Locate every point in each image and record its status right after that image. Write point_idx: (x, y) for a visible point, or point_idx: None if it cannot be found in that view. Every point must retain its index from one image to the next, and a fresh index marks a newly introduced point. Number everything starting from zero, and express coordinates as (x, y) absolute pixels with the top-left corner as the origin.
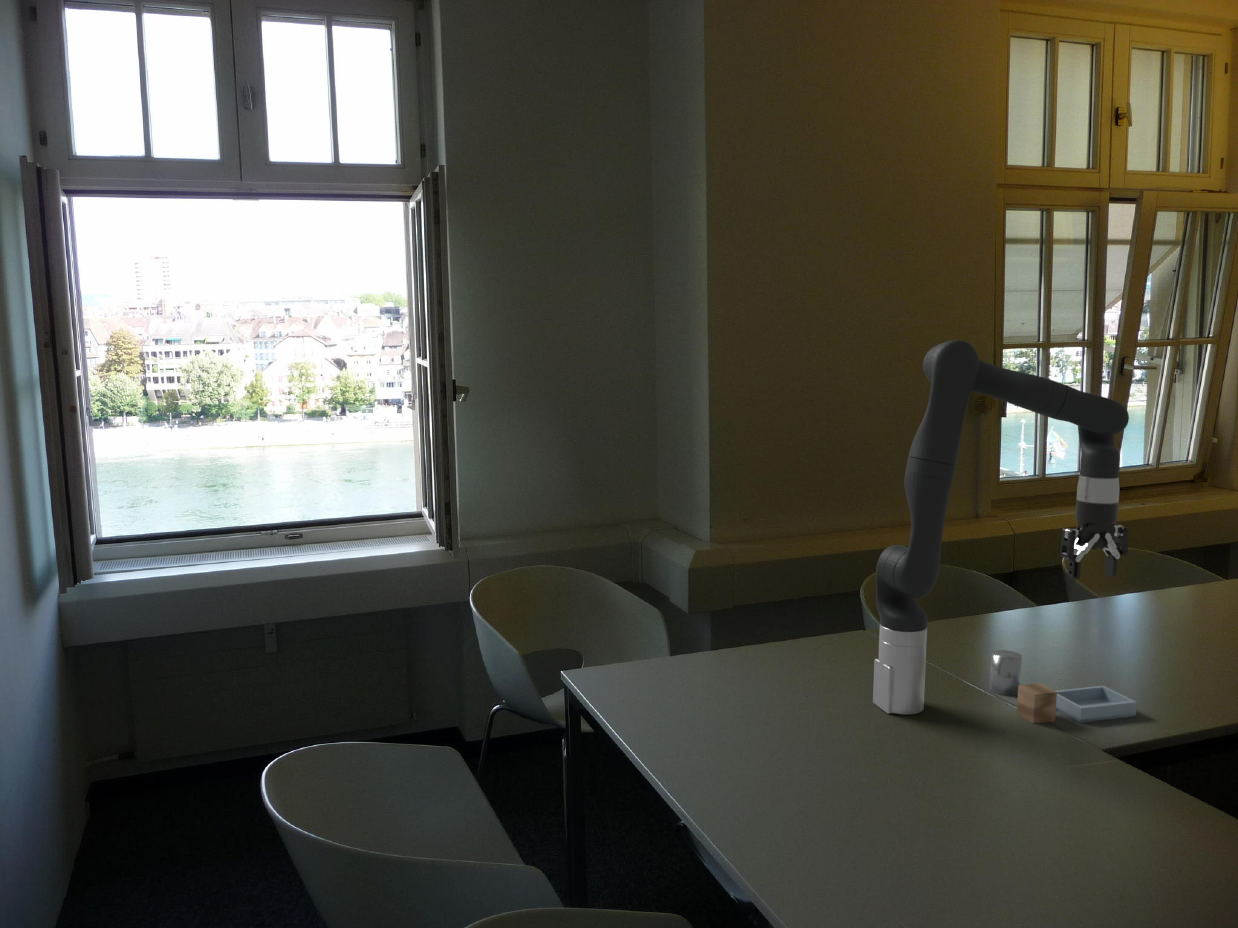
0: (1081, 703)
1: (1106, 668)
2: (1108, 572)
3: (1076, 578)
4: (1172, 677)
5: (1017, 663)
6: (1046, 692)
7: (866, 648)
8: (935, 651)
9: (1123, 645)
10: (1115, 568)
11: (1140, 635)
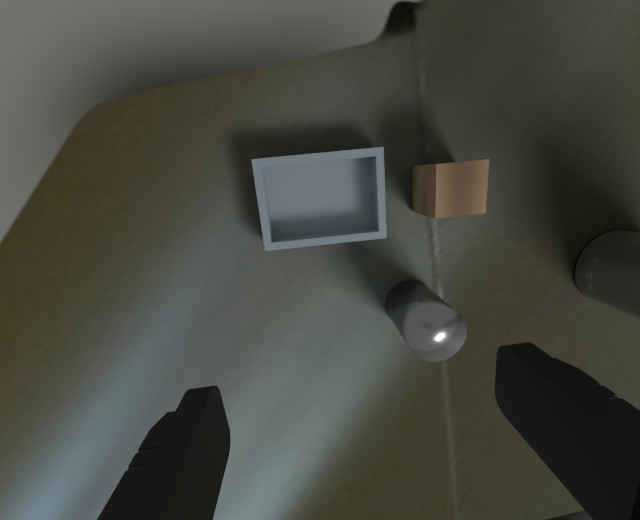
0: (325, 221)
1: (170, 376)
2: (216, 435)
3: (530, 347)
4: (69, 326)
5: (428, 305)
6: (458, 165)
7: (502, 480)
8: (409, 463)
9: (76, 467)
10: (164, 438)
11: (16, 506)
